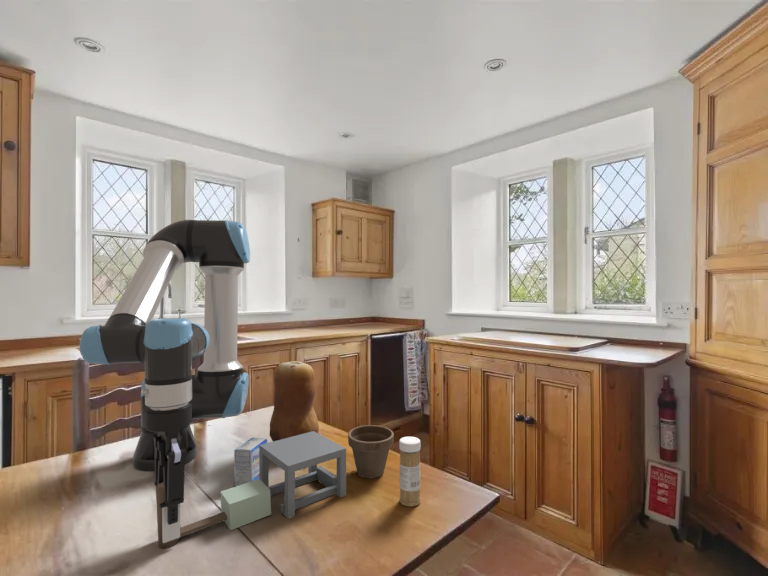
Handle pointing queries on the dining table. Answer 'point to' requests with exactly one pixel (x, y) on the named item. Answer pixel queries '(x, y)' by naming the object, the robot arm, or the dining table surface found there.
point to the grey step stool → (299, 456)
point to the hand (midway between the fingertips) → (168, 533)
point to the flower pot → (370, 449)
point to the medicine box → (247, 461)
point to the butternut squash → (293, 401)
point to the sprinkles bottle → (409, 471)
